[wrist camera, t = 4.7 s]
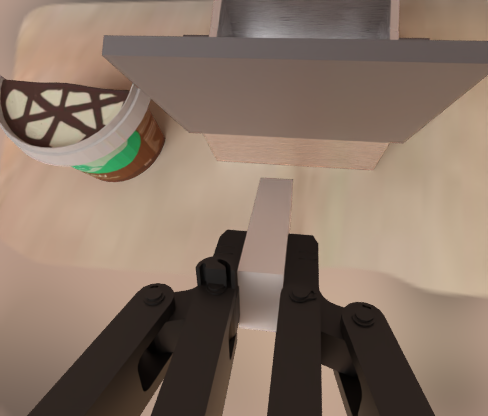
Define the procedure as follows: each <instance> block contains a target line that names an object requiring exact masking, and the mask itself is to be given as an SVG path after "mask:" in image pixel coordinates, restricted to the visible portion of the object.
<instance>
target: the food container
mask: <svg viewBox="0 0 488 416" xmlns="http://www.w3.org/2000/svg"><path fill="white" fill-rule="evenodd" d="M150 100H151V98H149V97H148V96H147V95H146V94H145V93H144V92H143V91H142V90H140V89H138V88H137V87H136V86H135V85H134V84H132V87H131V90H130V91H128V90H110V89H101V88H94V87H87V86H82V85H75V84H69V83H37V82H26V81H15V80H6V79H5V78H3V77H2V76H0V126H1V128H2V130H3V131H4V132H5V134H6V135H7V136H8V137H9V138H10V139H11V140H12V141H13V142H14V143H15V144H16V145H17V146H18V147H19V148H20V149H21V150H22V151H23V152H24V153H25V154H27V155H28V156H30V157H31V158H33V159H35V160H37V161H40V162H42V163H45V164H50V165H54V166H71V167H73V168H75V169H78V170H80V171H82V172H84V173H86V174H89V175H91V176H93V177H95V178H98V179H100V180H103V181H107V182H120V181H125V180H129V179H131V178H134V177H136V176H138V175H139V174H141V173H143V172H144V171H145V170H146V169H148V168H149V167H150V166H151V165H152V164H153V162H154V161H155V160H156V158H157V157H158V155H159V154H160V152H161V150H162V147H163V145H164V141H165V137H164V135H163V133H162V132H161V130H160V128H159V126H158V125H157V123H156V121H155V119H154V117H153V116H152V114H151V112H150V110H149V108H148V106H149V103H150Z"/></svg>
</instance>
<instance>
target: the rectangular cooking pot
mask: <svg viewBox="0 0 488 416" xmlns="http://www.w3.org/2000/svg"><path fill="white" fill-rule="evenodd" d="M183 37H245V38H313V39H382V40H429V38H399V0H214V5H213V12H212V19H211V26H210V33H209V35H183ZM202 134H203V136H204V137H205V139H206V141H207V143H208V145H209V147H210V149H211V150H212V152H213V154H214V156H215V158H216V160H217V161H229V162H246V163H263V164H279V165H296V166H313V167H329V168H346V169H362V170H373V169H374V167H375V166H376V164H377V163H378V161H379V160H380V158H381V156H382V155H383V153H384V152H385V150H386V148H387V147H388V145H389V144H390V143H383V142H363V141H343V140H323V139H303V138H283V137H263V136H244V135H224V134H204V133H202Z"/></svg>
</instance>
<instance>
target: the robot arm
mask: <svg viewBox="0 0 488 416" xmlns="http://www.w3.org/2000/svg"><path fill="white" fill-rule="evenodd" d="M292 189H293V179H276V178H261V179H260V183H259V187H258V191H257V195H256V199H255V203H254V207H253V211H252V215H251V219H250V223H249V227H248V231H236V230H227V231H226V232H224V233H223V234H222V235H221V236H220V238H219V241H218V244H217V247H216V249H215V253H214V255H213V257H209V258H205V259H203V260H202V261H200V262H199V263H198V264H197V266H196V275H197V284H198V286H197V287H195V288H193V289H190V290H186V291H180V292H173V290H172V289H171V287H169V286H167V285H166V284H160V283H156V284H150V285H148V286H145V287H143V288H142V289H141V290H140V291H138V292H137V293H136V294H135V296H134V297H133V298H132V299H131V300H130V301H129V302H128V303H127V305H126V306H125V307H124V308H123V309H122V310H121V311H120V313H118V315H117V316H116V317H115V318H114V319H113V320H112V321H111V322H110V324H109V325H108V326H107V327H106V328H105V329H104V330H103V331H102V332H101V334H100V335H99V336H98V337H97V338H96V339H95V340H94V341H93V343H92V344H91V345H90V346H89V347H88V348H87V349H86V350H85V352H84V353H83V354H82V355H81V356H80V357H79V359H77V361H76V362H75V363H74V364H73V365H72V366H71V367H70V368H69V370H68V371H67V372H66V373H65V374H64V375H63V376H62V377H61V379H60V380H59V381H58V382H57V383H56V384H55V385H54V386H53V387H52V389H51V390H50V391H49V392H48V393H47V394H46V395H45V396H44V397H43V399H42V400H41V401H40V402H39V403H38V404H37V405H36V406H35V408H34V409H33V410H32V411H31V412H30V413H29V414H28V415H27V416H140V415H141V413H142V412H143V410H144V409H145V407H146V406H147V404H148V402H149V401H150V399H151V398H152V396H153V395H154V393H155V391H156V390H157V388H158V387H159V385H160V384H161V382H162V381H163V383H162V386H161V389H160V391H159V394H158V397H157V400H156V403H155V406H154V408H153V411H152V414H151V416H222V414H223V408H224V404H225V398H226V393H227V389H228V384H229V379H230V374H231V369H232V364H233V359H234V354H235V349H236V344H237V328H238V323H239V328H244V329H253V330H262V331H271V332H276V339H275V348H274V357H273V366H272V375H271V385H270V394H269V403H268V412H267V416H322V394H321V393H322V388H321V364H322V365H324V366H327V367H329V368H332V369H333V371H334V375H335V378H336V381H337V384H338V388H339V391H340V394H341V397H342V400H343V404H344V407H345V410H346V413H347V416H435V415H434V412H433V411H432V409H431V407H430V405H429V403H428V401H427V399H426V397H425V395H424V393H423V391H422V389H421V387H420V385H419V383H418V381H417V379H416V377H415V375H414V373H413V371H412V369H411V367H410V366H409V363H408V362H407V360H406V358H405V356H404V354H403V352H402V350H401V348H400V346H399V344H398V342H397V340H396V338H395V336H394V334H393V332H392V330H391V328H390V326H389V324H388V323H387V320H386V318H385V317H384V315H383V314H382V312H381V311H380V310H379V309H377V308H376V307H375V306H373V305H370V304H368V303H364V302H355V303H350V304H348V305H347V306H346V307H341V306H338V305H335V304H333V303H331V302H329V301H327V300H326V299H325V298H324V297H323V296H322V294H321V293H320V291H319V275H318V274H319V268H318V243H317V241H316V240H315V238H314V236H313V235H299V234H290V225H291V207H292ZM163 379H164V380H163Z"/></svg>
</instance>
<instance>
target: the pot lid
mask: <svg viewBox="0 0 488 416" xmlns="http://www.w3.org/2000/svg"><path fill="white" fill-rule="evenodd" d="M102 56H103V57H104V58H106V59H107V60H108V61H109V62H110V63H111V64H112V65H113V66H115V67H116V68H117V69H118V70H119V71H120V72H121V73H122V74H124V75H125V76H126V77H127V78H128V79H129V80H130V81H131V82H133V83H134V84H135V85H136V86H137V87H138V88H139V89H140V90H142V91H143V92H144V93H145V94H146V95H147V96H148V97H149V98H151V99H152V100H153V101H154V102H155V103H156V104H157V105H158V106H160V107H161V108H162V109H163V110H164V111H165V112H166V113H167V114H169V115H170V116H171V117H172V118H173V119H174V120H175V121H176V122H178V123H179V124H180V125H181V126H182V127H183V128H184V129H185V130H187V131H188V132H189V133H204V134H224V135H244V136H263V137H283V138H303V139H323V140H343V141H363V142H383V143H404V142H405V141H407V140H408V139H409V138H410V137H412V136H413V135H414V134H415V133H417V132H418V131H419V130H420V129H421V128H423V127H424V126H425V125H426V124H428V123H429V122H430V121H431V120H433V119H434V118H435V117H436V116H438V115H439V114H440V113H441V112H442V111H444V110H445V109H446V108H447V107H449V106H450V105H451V104H452V103H454V102H455V101H456V100H457V99H459V98H460V97H461V96H462V95H463V94H465V93H466V92H467V91H468V90H470V89H471V88H472V87H473V86H475V85H476V84H477V83H478V82H480V81H481V80H482V79H483V78H485V77H486V76H487V75H488V41H450V40H382V39H313V38H245V37H177V36H108V35H104V39H103V49H102Z"/></svg>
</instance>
